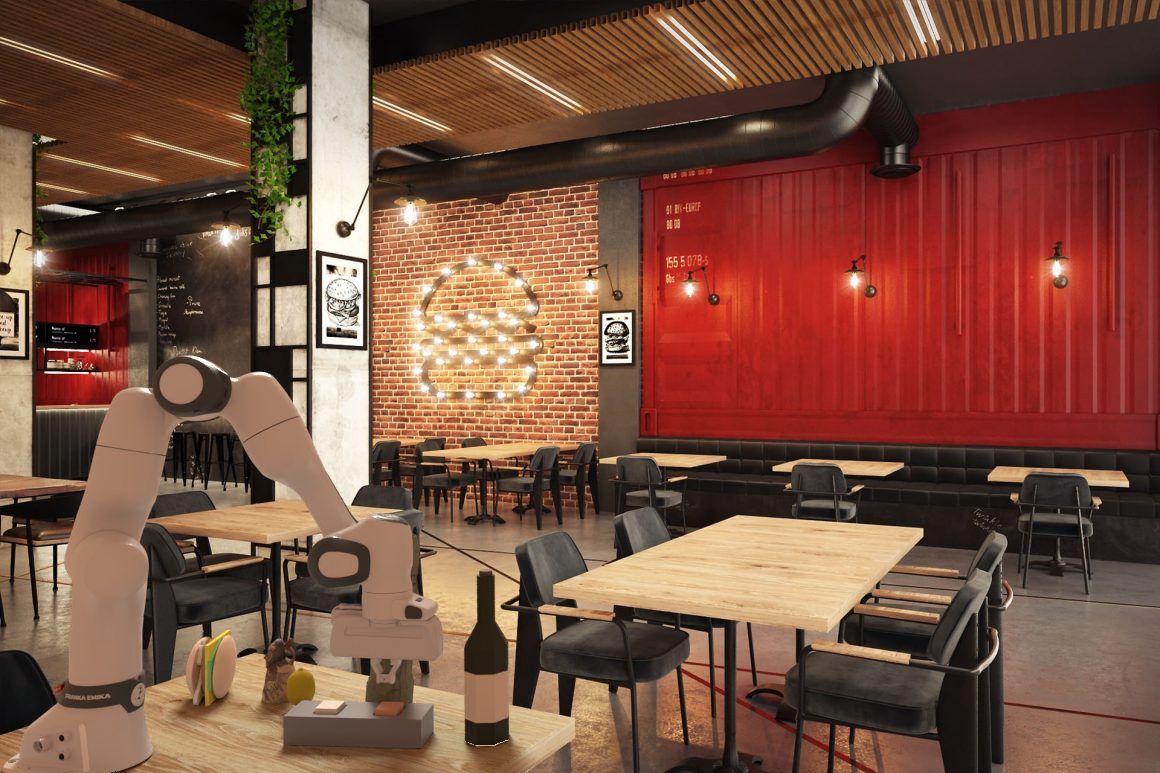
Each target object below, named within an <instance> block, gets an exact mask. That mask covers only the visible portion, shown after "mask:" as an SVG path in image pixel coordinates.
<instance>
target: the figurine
mask: <svg viewBox="0 0 1160 773" xmlns="http://www.w3.org/2000/svg"><path fill="white" fill-rule="evenodd" d="M294 641H295V640H294V639H293V638H292V637H289V638H288V640H287V641H284V640H283V639H282V638H277V639H275V640H274V641H273V642H272V643H271V644H270V645H269V647H268V649H267V652H266V654H265V655H264V657H263V659H264V660H265V669H266V673H265V677H264V685H263V689H262V692H261V693H262V695H261V701H263V702H264V703H266V704H282V703H287V702H289V700H288V698H287V695H286V686H287V681H288V678H289V677H290V675H291V674H292V673H293V672H295V671H296V667H295V664H294V663H295V660H296V653H295V649H294V648H293V647H292V644H294ZM287 654H290V655H291V659H290V658H288V657H287Z"/></svg>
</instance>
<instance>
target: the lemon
mask: <svg viewBox="0 0 1160 773" xmlns="http://www.w3.org/2000/svg"><path fill="white" fill-rule="evenodd" d="M295 670H296V669H295ZM315 694H316V681H315V678H314V675H313V674H312V672H310V671H309V670H307V669H304V667H299V668H298V669H297V670H296V671H295V672H293V673H292V674H291V675H290V677H289V678H288V681H287V686H286V695H287V698H288V700H289V701H288V702H289V703H290V704H291V705H293V706H294V707H295V706H296V705H297V704H299V703H300V702H301V701H302V700H305V701H313V699H314V697H315Z"/></svg>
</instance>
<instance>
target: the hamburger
mask: <svg viewBox="0 0 1160 773" xmlns="http://www.w3.org/2000/svg"><path fill="white" fill-rule="evenodd" d="M237 658H238V656H237V645H236V642H235V640H234V638H233V637H232V630H231V629H226V630H225V631H223V632H222V633H221V634H219V635H218V636H214V637H213V636H212V638H211V637H210V636H205V637H202V638H200V639H199V640H198V641H197V642H196V643H195V644H194V646H193V647H192V649H191V650H190V653H189V655H188V658H187V662H186V666H185V682H186V687H187V689H188V691H189V693H190V694H191V695H192V697H193V698H192V705H193V706H199V705H200V702H201V701H202V699H203V697H204V706H205V707H209V706H211V705H212V704H213V703H214V702H215V701H216V700H218V699H223V698H224V697H225V696H226V695H227V693H228V692H229V690H230V688H231V687H232V684H233V681H234V678H235V674H236V671H237V661H238V660H237ZM203 695H204V696H203ZM213 701H214V702H213ZM212 702H213V703H212ZM211 703H212V704H211ZM198 704H199V705H198Z"/></svg>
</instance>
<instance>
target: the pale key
mask: <svg viewBox="0 0 1160 773" xmlns="http://www.w3.org/2000/svg"><path fill="white" fill-rule="evenodd" d="M322 701H323V702H322V703H321V704H319V705H318V706H317V707H316V708H315V714H339V713H340V712H341V711H342V710H343V709H344V708H345V702H346V701H345V700H322Z"/></svg>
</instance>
